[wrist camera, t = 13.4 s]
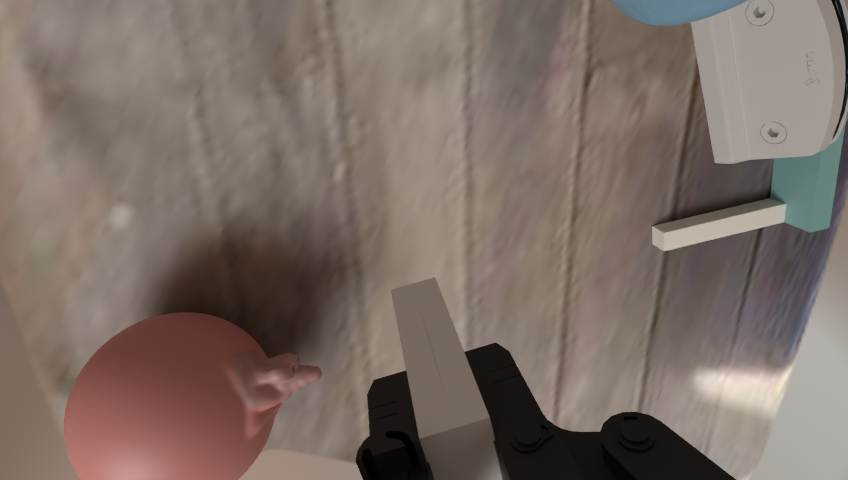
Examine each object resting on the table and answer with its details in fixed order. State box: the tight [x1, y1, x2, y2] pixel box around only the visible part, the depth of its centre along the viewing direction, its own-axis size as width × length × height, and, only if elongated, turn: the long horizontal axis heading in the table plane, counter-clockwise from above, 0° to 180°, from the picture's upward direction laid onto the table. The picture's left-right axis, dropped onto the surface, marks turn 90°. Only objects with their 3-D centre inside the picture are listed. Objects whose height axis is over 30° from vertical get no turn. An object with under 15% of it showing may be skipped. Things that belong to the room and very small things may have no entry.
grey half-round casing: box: [691, 0, 848, 164], centre depth 41 cm, size 17×5×10 cm, turn 23°
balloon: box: [64, 312, 322, 480], centre depth 40 cm, size 15×20×15 cm
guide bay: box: [652, 126, 845, 251], centre depth 43 cm, size 26×15×5 cm, turn 11°
